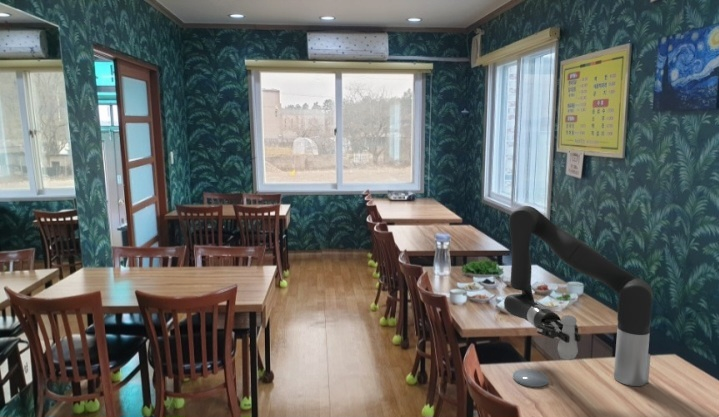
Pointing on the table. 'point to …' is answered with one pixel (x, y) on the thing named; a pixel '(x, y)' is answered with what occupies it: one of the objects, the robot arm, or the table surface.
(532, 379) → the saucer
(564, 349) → the salt shaker
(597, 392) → the table surface
